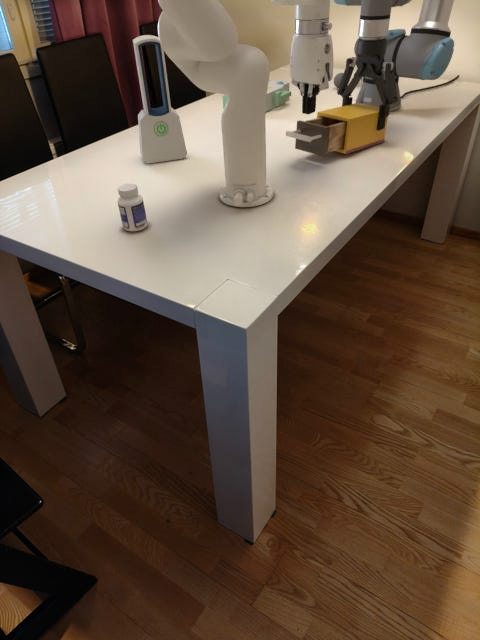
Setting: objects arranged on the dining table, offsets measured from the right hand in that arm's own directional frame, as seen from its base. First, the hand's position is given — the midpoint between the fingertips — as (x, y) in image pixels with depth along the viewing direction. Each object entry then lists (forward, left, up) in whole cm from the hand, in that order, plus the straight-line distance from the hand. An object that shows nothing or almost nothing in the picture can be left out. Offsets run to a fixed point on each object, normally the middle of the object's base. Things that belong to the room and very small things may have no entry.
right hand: (363, 125), depth 140 cm
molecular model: (-65, -15, -4) cm, 67 cm away
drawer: (+16, -7, -2) cm, 18 cm away
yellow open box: (+5, -2, -4) cm, 7 cm away
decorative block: (-28, -44, -4) cm, 52 cm away
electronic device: (+28, -50, -4) cm, 58 cm away
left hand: (+22, -10, +9) cm, 26 cm away
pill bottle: (+68, -35, -4) cm, 76 cm away
